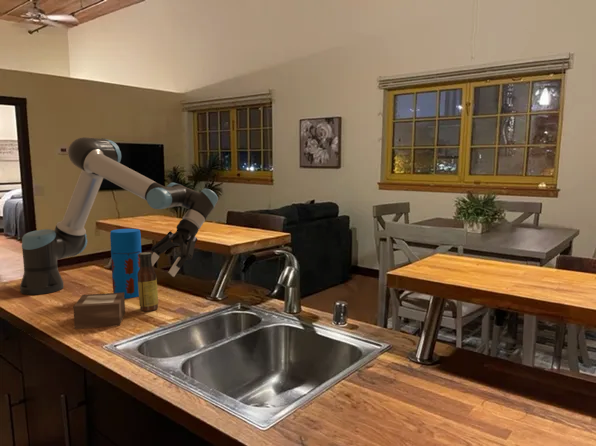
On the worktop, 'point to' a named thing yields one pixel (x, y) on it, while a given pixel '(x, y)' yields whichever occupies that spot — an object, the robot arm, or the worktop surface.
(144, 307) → the sauce bottle
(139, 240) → the thermos
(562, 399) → the worktop surface
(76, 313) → the block
